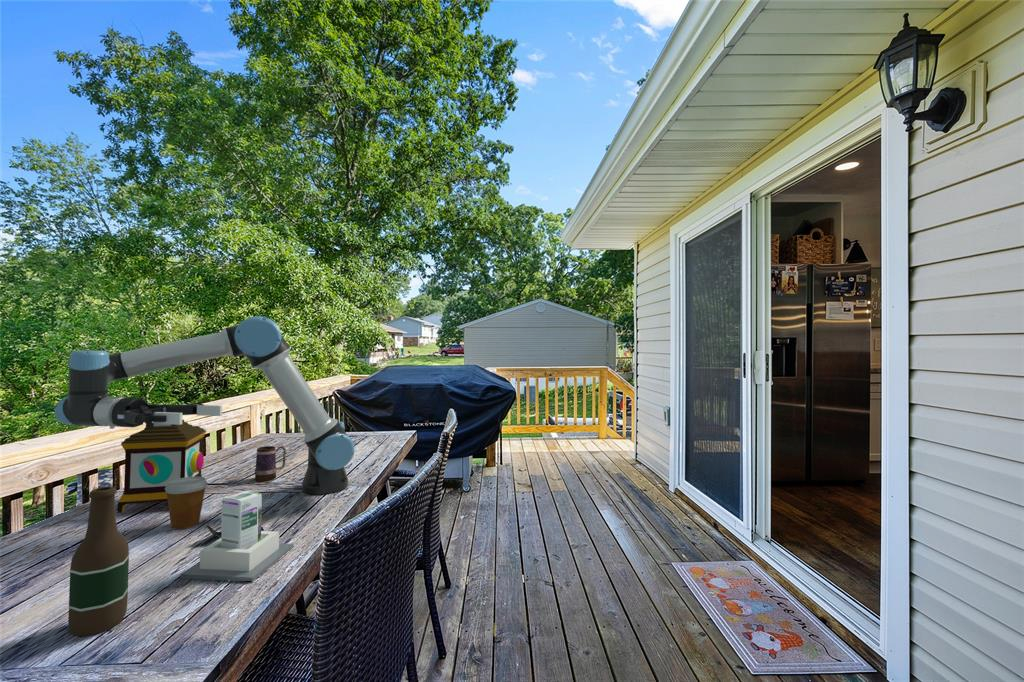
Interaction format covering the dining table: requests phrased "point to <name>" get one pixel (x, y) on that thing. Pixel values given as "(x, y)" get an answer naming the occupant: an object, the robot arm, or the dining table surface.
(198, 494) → the disposable coffee cup
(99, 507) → the beer bottle
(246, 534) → the syrup box
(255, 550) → the socket holder
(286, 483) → the dining table surface
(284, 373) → the robot arm
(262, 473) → the mug
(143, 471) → the decorative lantern
